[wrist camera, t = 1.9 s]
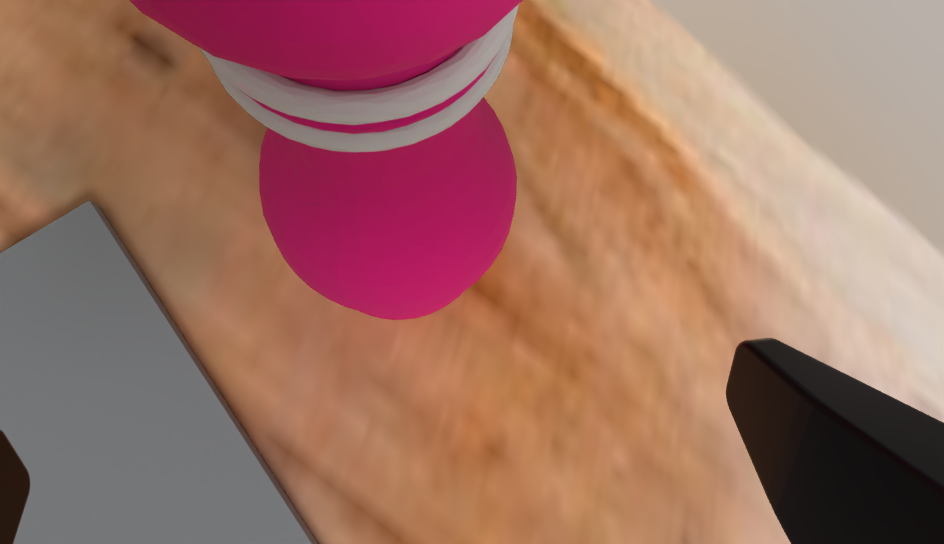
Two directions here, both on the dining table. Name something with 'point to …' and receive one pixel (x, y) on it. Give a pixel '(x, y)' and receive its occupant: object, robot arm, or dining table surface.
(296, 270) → the magenta pepper mill
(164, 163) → the dining table surface
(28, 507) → the place mat
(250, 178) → the dining table surface
